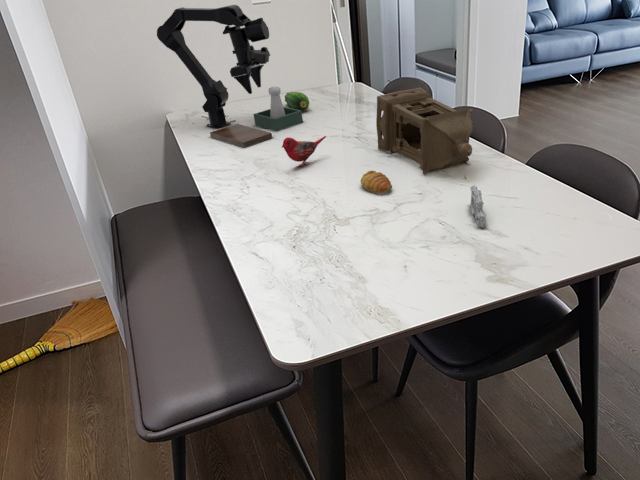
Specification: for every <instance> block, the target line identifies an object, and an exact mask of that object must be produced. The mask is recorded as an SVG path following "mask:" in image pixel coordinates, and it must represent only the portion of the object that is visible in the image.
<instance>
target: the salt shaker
mask: <svg viewBox="0 0 640 480" xmlns="http://www.w3.org/2000/svg"><path fill="white" fill-rule="evenodd" d="M268 95H270V109H271V110H270V117H271V118H279V117H282V116H285V115H286V114H285V111H284V108H283V107H284V105H283V101H282V98H281V87H279V86H270V87H269V88H268Z"/></svg>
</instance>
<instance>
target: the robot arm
mask: <svg viewBox="0 0 640 480" xmlns="http://www.w3.org/2000/svg"><path fill="white" fill-rule="evenodd" d="M186 22H215V23H218V24H221V25H225V26H224V30H223V31H222V35H228V34H229V35H228V36H229V37H230V40H231V45H232V48H233V50H232V55H235V57H236V60H237V62H236V65H234V66H233V67H231V68H230V70H229V73H230V77H231V78H233V79H234V80H236V81H237V83H239V85H240V86H242V87H243V89H244V91H246V92H247V94H249V95H252V94H253V90H252V84H251V79H252V80H253V82H254V83H255V85H256V87H257V88H261V87H262V77H261V75H262V74H261V72H262V69H263V68H264V66H265V65H266V64H267V63H269V62H270V57H271V53H270V51H269V48H268V47H267V46H262V47H260V49H255V48H254V46H253V45H252V44H250V42H252V43H257V42H260V41H265V40H268V39H269V38H270V30H269V29H270V28H269V26H267V25H268V24H267V23H266V22H265V20H264V18H263V17H259V18H257V19H253V20H251V18H249V17H248V16H247V15H246V14H245V13H244V12H243V10H242V8H241V7H240V6H239V5H238V4H230V5H225V6H221V7H217V8H211V7H210V8H206V7H205V8H203V7H201V8H199V7H194V8H193V7H179V8H175V9H174V10H173V12H172V13H171V14H170V16H169V17H168V18H167V19H166V20H165V21H164V22H163V24H162V25H159V26H158V27H157V28H156V38H157V39H158V40H159V41H160V43H162V45H164V46H165V47H166V48H168V49H169V50H170V51H172V52H173V53H175V54H176V55H177V57H178V59H180V61H181V62H182V63H183V64H184V66H185V67H186V68H187V70H188V71H189V73H190V74H191V75H192V77H194V79H195V80H196V81H197V83H198V84H199V85H200V87H201V90H202V93H203V96H204V98H205V100H206V101H205V102H204V104H203V105H202V106H201V107H202V109H203V111H204V112H205V113H207V116H208V120H209V123H207V124H206V127H209V128H212V129H221V128H224V127H225V126H226V127H227V126H230V125H231V123H230V122H228V121H227V118H226V114H225V109H224V107H225V106H226V103H227V102H228V100H229V92H228V88H227V86H225V85H224V83H223V81H222V80H221V79H219V80H217V81H216V80H215V79H213V78H212V77H211V76H210V74H209V73H208V71H207V70H206V69H205V68H204V66H203V65H202V63H201V62H200V61H199V59H198V58H197V57H196V56H195V55H194V53H193V52H192V51H191V49H190V48H189V46H188V45H187V44H186V40H185V36H184V34H183V32H182V31H183V29H184V27H185V25H186Z"/></svg>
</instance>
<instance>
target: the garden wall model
mask: <svg viewBox="0 0 640 480" xmlns="http://www.w3.org/2000/svg"><path fill="white" fill-rule="evenodd" d="M469 189H470V193H471V194H470V210H471V215H472V216H474V218H475V221H476V225H477V226H478V228H485V225H486V215H485V212H484V210H483V208H484V204H485V203H484V201H483V197H482V195H483V194H482V190H480V189H478V186H477V185H475V184H473V185H472V186H470V187H469Z"/></svg>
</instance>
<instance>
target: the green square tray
mask: <svg viewBox="0 0 640 480" xmlns="http://www.w3.org/2000/svg"><path fill="white" fill-rule="evenodd" d="M283 108H284V111H285V114H286V115H285V116H282V117H279V118H271V117H270V110H271V108H269V109H266V110H262V111H259V112H255V113H253V115H252V116H253V121H254V126H256V127H260V128H263V129H266V130H270V131H274V132H279V131H282V130H284V129H287V128H290V127H293V126H296V125H299V124H302V123H304V119H303V111H300V110H296V109H292V108H291V107H287V106H283Z"/></svg>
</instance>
